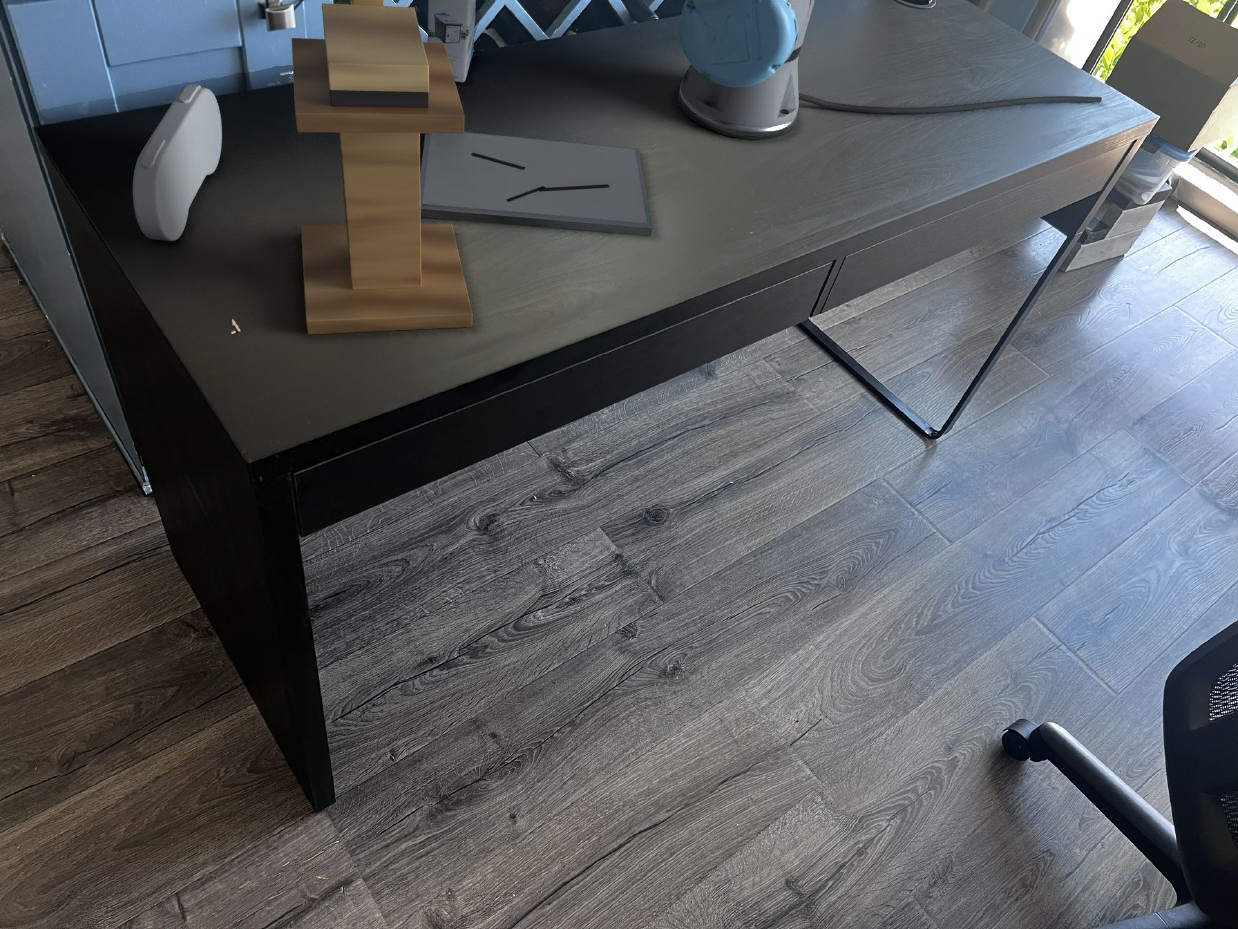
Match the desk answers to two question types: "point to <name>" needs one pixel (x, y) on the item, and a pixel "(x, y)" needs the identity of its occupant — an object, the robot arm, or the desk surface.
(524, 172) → the whiteboard
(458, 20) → the ink box
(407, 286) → the shelf stand
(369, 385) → the desk surface
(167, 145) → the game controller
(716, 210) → the desk surface
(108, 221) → the desk surface
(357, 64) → the eraser
